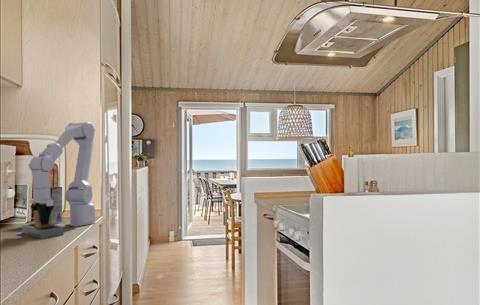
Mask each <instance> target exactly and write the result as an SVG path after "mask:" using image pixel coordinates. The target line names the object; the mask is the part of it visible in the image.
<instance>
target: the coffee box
mask: <svg viewBox="0 0 480 305" xmlns="http://www.w3.org/2000/svg"><path fill="white" fill-rule="evenodd" d="M50 199H51V200H53V205H54V208H53V210H52V212H51V214H50V218H49V222H48V223H49V224H53V225H57V224H61V222H62V223H63V187H62V186H51V185H50Z"/></svg>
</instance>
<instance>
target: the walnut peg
mask: <svg viewBox="0 0 480 305" xmlns="http://www.w3.org/2000/svg"><path fill="white" fill-rule="evenodd" d="M33 217H34V218H33V219H34V220H33V221H34V223H33V224H34V227H37V228H41V227H47V226H48V224H44V225H42V224H41V220H40V214H39V211H38V210H34V212H33Z"/></svg>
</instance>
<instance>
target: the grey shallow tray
mask: <svg viewBox="0 0 480 305" xmlns="http://www.w3.org/2000/svg"><path fill="white" fill-rule="evenodd" d="M64 230H65V229H64V226H62V225H57V224H49V223H48V226H47V227H41V228H37V227H34V223H29V224H22V225H21V233H22V234H23V235H27V236H30V237H34V238H36V239H40V240H42V239H48V238H55V237H58V236H59V237H60V236H64Z"/></svg>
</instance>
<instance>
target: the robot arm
mask: <svg viewBox="0 0 480 305" xmlns="http://www.w3.org/2000/svg"><path fill="white" fill-rule="evenodd" d="M95 131H96V130H95V127H94V126H93V124H92V123H91V122H90V121H85V122H84V121H83V122H70V123H68V124H67V125H66V126H65V128H64V132H62V134H60V136H59V138H58V139H57V140H56V141H55V142H51V143H48V144H47V145H46V147H45V148H44V150H42V151H41V152H40V153H39V154H38V156H34V157H33V158H31V160H30V161H29V164H28V167H29V170H30V171H31V175H32V189H33V190H32V191H33V192H32V193H33V198H31V199H30V200H29V203H31V204H33V205H30V209H31V210H32V212H33V213H34V210H38V211H39V214H40V220H41V224H42V225H44V224H48V222H49V218H50V214H51V212H52V210H53V208H54V205H53V200H51V199H50V186H51V171H52V170H53V169H54V166H55V163H56V161H57V159H58V158H59V157H60V156H61V155H62V154H63V151H64V150H63V149H64V148H65V147H66V146H67V145H68V144H69V143H70V142H71V141H72V140H73V141H74V142H75V143H77V145H79V148H78V151H77V159H76V164H75V165H76V166H75V170H74V171H75V172H74V178H73V181H71V182H70V183H69V185H68V187H67V190H66V192H65V195H64V196H65V200H66V202H68V205H69V220H70V222H68V223H67V222H66V226H70V227H71V226H72V227H80V226H86V225H88V226H89V225H93V224H97V222H96V219H95V218H96V209H95V208H96V207H95V205H94V204H93V202H91V201H92V199H93V186H92V185H91V184H90V183H89V182H88V181H89V173H90V168H91V161H92V155H93V146H94V137H95Z"/></svg>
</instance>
